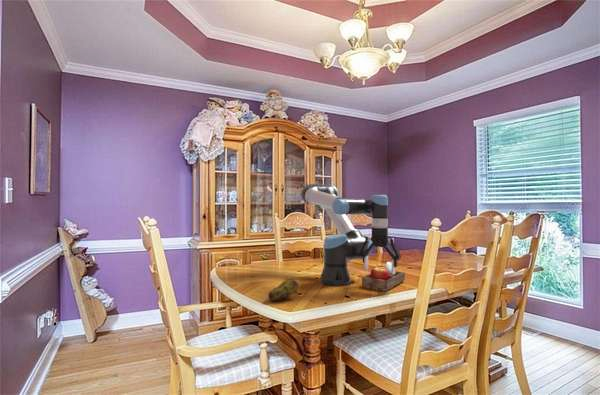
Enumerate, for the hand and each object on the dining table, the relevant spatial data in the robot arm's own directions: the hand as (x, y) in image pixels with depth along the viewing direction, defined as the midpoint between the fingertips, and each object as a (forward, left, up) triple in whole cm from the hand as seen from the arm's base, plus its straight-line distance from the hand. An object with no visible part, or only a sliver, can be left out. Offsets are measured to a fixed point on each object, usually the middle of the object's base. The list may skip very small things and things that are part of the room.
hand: (379, 272), depth 154 cm
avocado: (-23, -44, -7) cm, 50 cm away
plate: (0, +11, -6) cm, 13 cm away
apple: (0, 0, -6) cm, 6 cm away
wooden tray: (0, +6, -7) cm, 9 cm away
